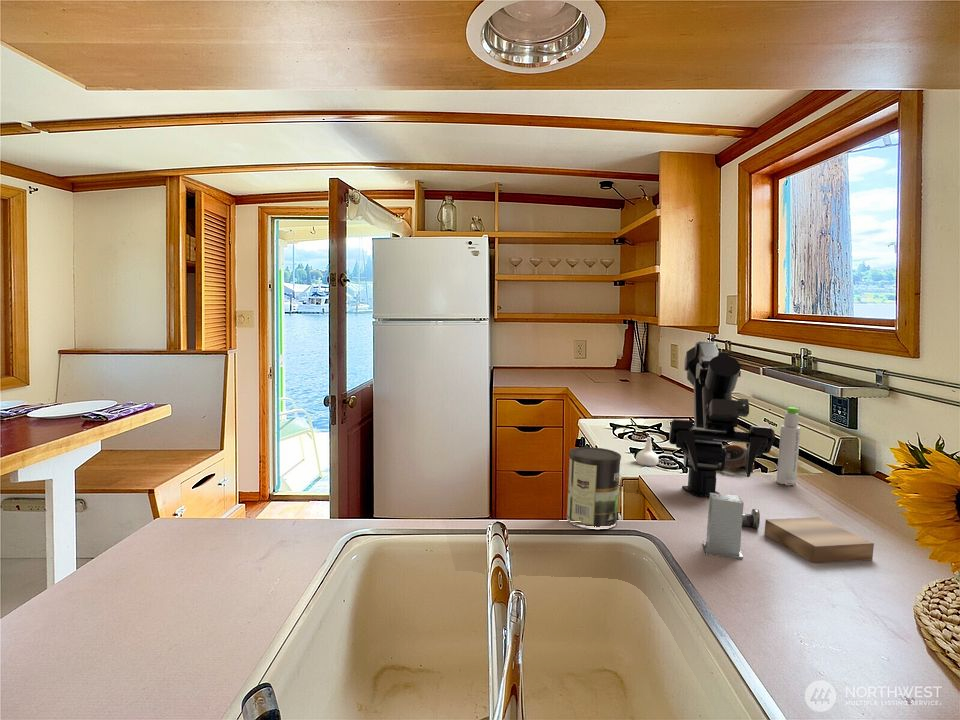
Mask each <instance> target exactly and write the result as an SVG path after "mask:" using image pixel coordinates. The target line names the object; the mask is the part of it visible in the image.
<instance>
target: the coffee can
mask: <svg viewBox="0 0 960 720" xmlns="http://www.w3.org/2000/svg"><path fill="white" fill-rule="evenodd" d="M568 456H569V461H568V462H569V463H568V464H569V465H568V489H567V507H566V510H567V511H566V520H567V522H569V521H581V522H569V523H570V524H571V523H572V524H571V525H573V524H575V525H585V526H594V527H595V526H596V527H600V526H611V525H614V524H616V522H617V523H618V507H619V506H618V505H619V502H618V501H619V488H620V487H619V486H620V469H621V468H620V467H621V459H622V455H621V454H620V453H619V452H617V451H615V450H611V449H607V448H604V447H603V448H601V447H591V446H590V447H589V446H583V447H574V448H571V449H570V450H569V452H568ZM575 525H574V526H575Z"/></svg>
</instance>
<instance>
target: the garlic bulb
mask: <svg viewBox="0 0 960 720" xmlns="http://www.w3.org/2000/svg"><path fill="white" fill-rule="evenodd" d="M636 453H637V454H636V456H635V462H636V463H637V464H639V465H641V466H646V467H655V466H657V465H658V464H659V460H660V459H659V456H658V454H657V453H656V452H655V451H653V446H652V437H649V436H646V441H645V446H644V448H643V449H641V450H640V451H638V452H636Z"/></svg>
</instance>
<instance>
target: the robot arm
mask: <svg viewBox="0 0 960 720" xmlns="http://www.w3.org/2000/svg"><path fill="white" fill-rule="evenodd" d="M718 347H719V345H718V343H717V342H715V341H701V340H700V341H698V342H695V344H694V346H693V347H692V348H690V349H689V350H687V351H686V353H685V357H684V368H683V369H684V370H683V371H686V380H687V381H688V382H689V383H690V384H691V385H692V387H693V412H694V413H693V416H694V417H693V418H694V426H693V421H692V420H691V419H690V420H688V419H678V418H677V419H676V418H673V419H672V420H671V421H670V427H669V434H668V435H669V436H668V437H669V438H668V439H669V441H668V442H669V443H670V444H671V445H675V447H676V448H678V449H681V450H682V452H683V466H684V468H685V469H688V479H687V485H681V488H682V490H685V491H686V492H688V493H690V494H692V495H693V496H694V497H710V493H717V494H721V493H720V492H719V491H717V472H721V473H722V472H723V471H725V470H726V468H725V462H726V458H727V452H726V451H725V447H724V445H723V442H732V443H743V444H745V446H746V467H745V473H746V477H747V478H750V477H751V474H752V467H753V466H754V465H755V460H756V458H757V457H762V456H763V455H764V454H768V453H770V452H771V449H772V447H773V445H774V442H775V440H776V434H775V430H774V429H773V428H771V426H761V425H759V426H758V425H750V427H749V430H748V432H746V431H736V428H737V427H738V426H739V424H738V423H739V421H738V418H739V417H743V418H747V417H748V416H749V414H750V403H749V399H748V398H738V399H737V400H736V399H733V394H732V393H733V392H734V390H735V389H736V385H737V382H738V378H739V377H740V378H741V366H742V365H741V363H740V362H739V361H738V360H737V359H736V358H735V357H732V356H730V355H729V352H728V351H727V352H726V351H719V350H718Z"/></svg>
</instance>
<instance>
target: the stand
mask: <svg viewBox="0 0 960 720" xmlns="http://www.w3.org/2000/svg"><path fill="white" fill-rule="evenodd" d="M764 523H765V524H764V532H763V533H764V535H765V536H767V537H768V538H770V539H772V540H774V541H775V542H777V543H779V544H780V545H783V546H784V547H786V548H787V549H789V550H791V551H792V552H794V553H795V554H798V555H799V556H801V557H803V558H805V559H806V560H808V561H810V562H811V563H813V564H819V563H821V564H823V563H836V562H837V563H838V562H839V563H840V562H853V561H854V562H855V561H857V562H858V561H872V560H873V558H874V557H873V556H874V555H873V554H874V548H875V547H874V546H875V543H874V542H872V541H870V540H868V539H865V538H863V537H861V536H859V535H857V534H855V533H853V532H851V531H848V530H846V528H845V529H844V528H842V527H840V526H839V525H836V524H834V523H832V522H830V521H828V520H825V519H824V518H822V517H818V516H817V517H815V516H814V517H813V516H812V517H794V518H793V517H791V518H766V519H765V522H764Z"/></svg>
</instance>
